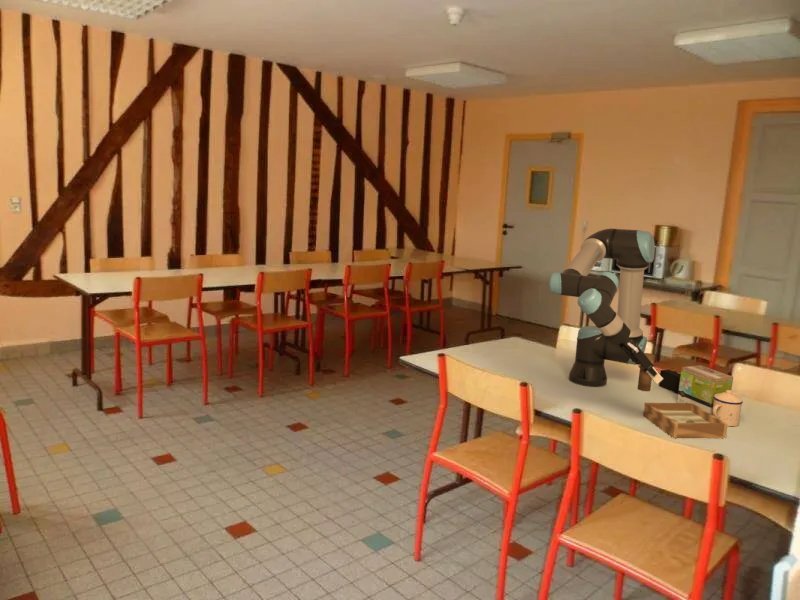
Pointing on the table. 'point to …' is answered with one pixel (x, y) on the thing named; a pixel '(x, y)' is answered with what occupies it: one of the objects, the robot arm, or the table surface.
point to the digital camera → (670, 380)
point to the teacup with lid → (727, 407)
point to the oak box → (684, 420)
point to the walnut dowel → (645, 375)
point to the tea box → (702, 386)
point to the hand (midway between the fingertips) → (656, 378)
